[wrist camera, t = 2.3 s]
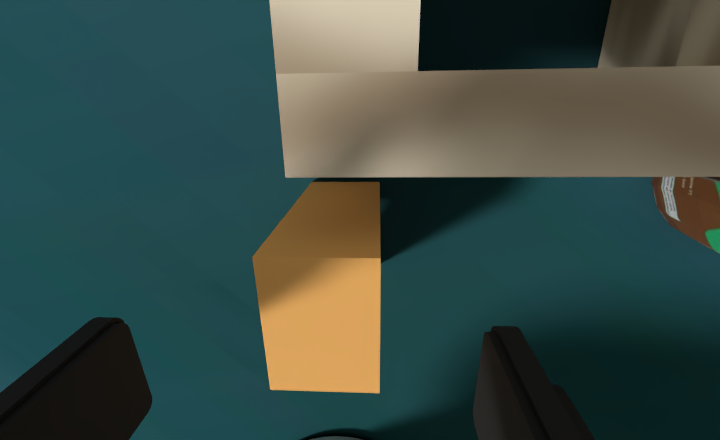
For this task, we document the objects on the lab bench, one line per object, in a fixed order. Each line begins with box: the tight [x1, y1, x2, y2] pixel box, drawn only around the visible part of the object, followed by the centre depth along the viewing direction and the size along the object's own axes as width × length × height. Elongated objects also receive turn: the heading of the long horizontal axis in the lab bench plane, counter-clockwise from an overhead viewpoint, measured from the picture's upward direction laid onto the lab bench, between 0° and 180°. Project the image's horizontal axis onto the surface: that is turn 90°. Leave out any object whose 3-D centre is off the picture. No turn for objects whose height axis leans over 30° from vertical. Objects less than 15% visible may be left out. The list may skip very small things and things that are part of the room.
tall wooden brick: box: [253, 182, 381, 393], centre depth 16 cm, size 5×4×10 cm
